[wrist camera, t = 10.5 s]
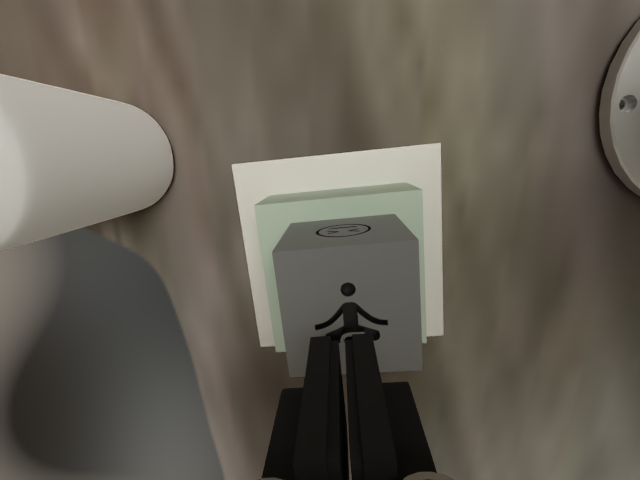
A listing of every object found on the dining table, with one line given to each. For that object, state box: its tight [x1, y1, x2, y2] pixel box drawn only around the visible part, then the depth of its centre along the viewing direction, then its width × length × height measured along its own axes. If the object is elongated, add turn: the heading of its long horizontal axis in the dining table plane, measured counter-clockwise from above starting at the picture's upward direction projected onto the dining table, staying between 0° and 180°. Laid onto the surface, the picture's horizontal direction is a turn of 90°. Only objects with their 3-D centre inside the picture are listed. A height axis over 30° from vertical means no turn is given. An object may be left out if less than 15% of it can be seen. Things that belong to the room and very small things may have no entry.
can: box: [0, 74, 173, 251], centre depth 15 cm, size 6×6×12 cm
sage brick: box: [254, 182, 427, 352], centre depth 19 cm, size 8×8×4 cm
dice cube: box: [272, 214, 423, 378], centre depth 15 cm, size 5×5×5 cm
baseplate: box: [232, 143, 443, 347], centre depth 22 cm, size 12×12×1 cm
